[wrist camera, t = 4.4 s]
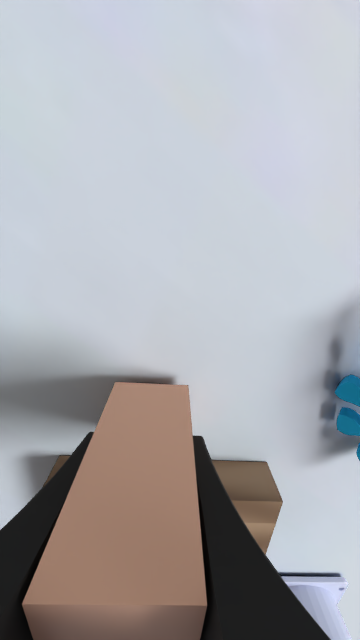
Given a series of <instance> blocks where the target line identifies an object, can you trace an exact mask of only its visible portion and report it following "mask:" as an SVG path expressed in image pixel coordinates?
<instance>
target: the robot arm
mask: <svg viewBox="0 0 360 640" xmlns="http://www.w3.org/2000/svg"><path fill="white" fill-rule="evenodd" d="M93 434H94V432H89V433H88V434H87V435H86V437H85V438H84V439H83V441H82V442H81V443H80V445H79V446H78V447H77V448H76V450H75V451H74V452H73V453H72V455H71V456H70V457H69V458H68V459H67V461H66V462H65V463H64V464H63V465H62V467H61V468H60V469H59V470H58V471H57V472H56V474H55V475H54V476H53V477H52V478H51V479H50V480H49V481H48V482H47V484H46V485H45V486H44V487H43V488H42V489H41V490H40V491H39V492H38V493H37V494H36V495H35V496H34V498H33V499H32V500H31V501H30V502H29V503H28V504H27V505H26V506H25V507H24V508H23V509H22V510H21V511H20V512H19V513H18V514H17V515H16V516H15V517H14V518H13V519H12V520H10V521H9V522H8V523H7V524H6V525H5V526H4V527H3V528H2V529H1V530H0V640H33V637H32V634H31V631H30V628H29V625H28V622H27V618H26V615H25V612H24V609H23V606H22V603H23V600H24V598H25V596H26V593H27V591H28V589H29V586H30V584H31V581H32V579H33V577H34V574H35V572H36V569H37V567H38V565H39V562H40V560H41V558H42V555H43V553H44V550H45V548H46V546H47V543H48V541H49V539H50V536H51V534H52V531H53V529H54V527H55V524H56V522H57V519H58V517H59V515H60V512H61V510H62V508H63V505H64V503H65V500H66V498H67V496H68V493H69V491H70V489H71V486H72V484H73V481H74V479H75V477H76V474H77V472H78V470H79V467H80V465H81V462H82V460H83V458H84V455H85V453H86V450H87V448H88V446H89V443H90V441H91V439H92V436H93ZM193 447H194V458H195V470H196V481H197V493H198V505H199V516H200V528H201V540H202V551H203V563H204V575H205V586H206V598H207V609H206V613H205V618H204V623H203V628H202V633H201V637H200V640H352V638H351V635H350V633H349V631H348V629H347V626H346V624H345V622H344V620H343V617H342V615H341V613H340V610H339V608H338V606H337V604H338V603H339V601H340V599H341V597H342V596H343V594H344V592H345V591H346V589H347V587H348V582H347V580H346V578H344V577H296V576H280V575H279V573H278V572H277V570H276V569H275V568H274V566H273V565H272V563H271V562H270V561H269V559H268V558H267V556H266V555H265V554H264V552H263V551H262V549H261V548H260V546H259V545H258V543H257V542H256V540H255V539H254V537H253V536H252V534H251V533H250V531H249V530H248V528H247V526H246V525H245V523H244V521H243V520H242V518H241V517H240V515H239V513H238V511H237V510H236V508H235V506H234V504H233V503H232V501H231V499H230V497H229V495H228V493H227V492H226V490H225V488H224V486H223V484H222V482H221V480H220V478H219V475H218V473H217V471H216V469H215V467H214V465H213V462H212V460H211V458H210V455H209V453H208V450H207V448H206V445H205V442H204V439H203V437H202V436H193Z"/></svg>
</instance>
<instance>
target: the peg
mask: <svg viewBox="0 0 360 640" xmlns="http://www.w3.org/2000/svg"><path fill="white" fill-rule="evenodd" d="M22 606H23V609H24V612H25V615H26V618H27V622H28V625H29V628H30V631H31V634H32V637H33V640H200V637H201V633H202V628H203V623H204V618H205V613H206V609H207V598H206V586H205V575H204V563H203V551H202V540H201V528H200V516H199V505H198V493H197V481H196V470H195V458H194V447H193V435H192V423H191V412H190V400H189V388H188V385H169V384H148V383H126V382H115V384H114V386H113V389H112V391H111V393H110V396H109V398H108V400H107V403H106V405H105V408H104V410H103V412H102V415H101V417H100V420H99V422H98V424H97V427H96V429H95V431H94V434H93V436H92V439H91V441H90V443H89V446H88V448H87V450H86V453H85V455H84V458H83V460H82V462H81V465H80V467H79V470H78V472H77V474H76V477H75V479H74V481H73V484H72V486H71V489H70V491H69V493H68V496H67V498H66V500H65V503H64V505H63V508H62V510H61V512H60V515H59V517H58V519H57V522H56V524H55V527H54V529H53V531H52V534H51V536H50V539H49V541H48V543H47V546H46V548H45V550H44V553H43V555H42V558H41V560H40V562H39V565H38V567H37V569H36V572H35V574H34V577H33V579H32V581H31V584H30V586H29V589H28V591H27V593H26V596H25V598H24V600H23V603H22Z"/></svg>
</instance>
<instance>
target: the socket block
mask: <svg viewBox="0 0 360 640" xmlns="http://www.w3.org/2000/svg"><path fill="white" fill-rule="evenodd" d="M69 457H70V456H59V458H58V460H57V461H56V463H55V465H54V467H53V469H52V471H51V473H50V475H49V476H48V478H47V480H46V482H45V484H44V486H45V485H46V484H47V482H48V481H49V480H50V479H51V478H52V477H53V476H54V475H55V474H56V472H57V471H58V470H59V469H60V468H61V467H62V465H63V464H64V463H65V462H66V461H67V459H68V458H69ZM212 462H213V465H214V467H215V469H216V471H217V473H218V475H219V478H220V480H221V482H222V484H223V486H224V488H225V490H226V492H227V493H228V495H229V497H230V499H231V501H232V503H233V504H234V506H235V508H236V510H237V511H238V513H239V515H240V517H241V518H242V520H243V521H244V523H245V525H246V526H247V528H248V530H249V531H250V533H251V534H252V536H253V537H254V539H255V540H256V542H257V543H258V545H259V546H260V548H261V549H262V551H263V552H264V554H266V551H267V548H268V545H269V542H270V539H271V536H272V533H273V530H274V527H275V524H276V521H277V518H278V515H279V512H280V509H281V506H282V503H283V501H282V498H281V496H280V493H279V491H278V488H277V486H276V484H275V481H274V479H273V476H272V474H271V471H270V469H269V466H268V464H267V462H247V461H216V460H212ZM44 486H43V487H44Z"/></svg>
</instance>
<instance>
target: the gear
mask: <svg viewBox="0 0 360 640" xmlns="http://www.w3.org/2000/svg"><path fill="white" fill-rule="evenodd" d="M335 394H336V395H337V396H338V397H339V398H340V399H342V400H344V401H347V402H350V403H353V404H355V405H357V406H359V407H360V379H359V378H358V377H356V376H354V375H349V376H346V377H345V378H344V379H343V380H342V381H341V382H340V383H339V385H338V386H337V388H336V390H335ZM337 430H339V431H340V432H342V433H344V434H346V435H356V436H360V415H359V414H358V413H357V412H356V411H354V410H352V409H350V408H346V407H342V409H341V410H340V413H339V415H338V418H337ZM356 453H357V457H358V459H359V460H360V443H359V445H358V448H357V452H356Z"/></svg>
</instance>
